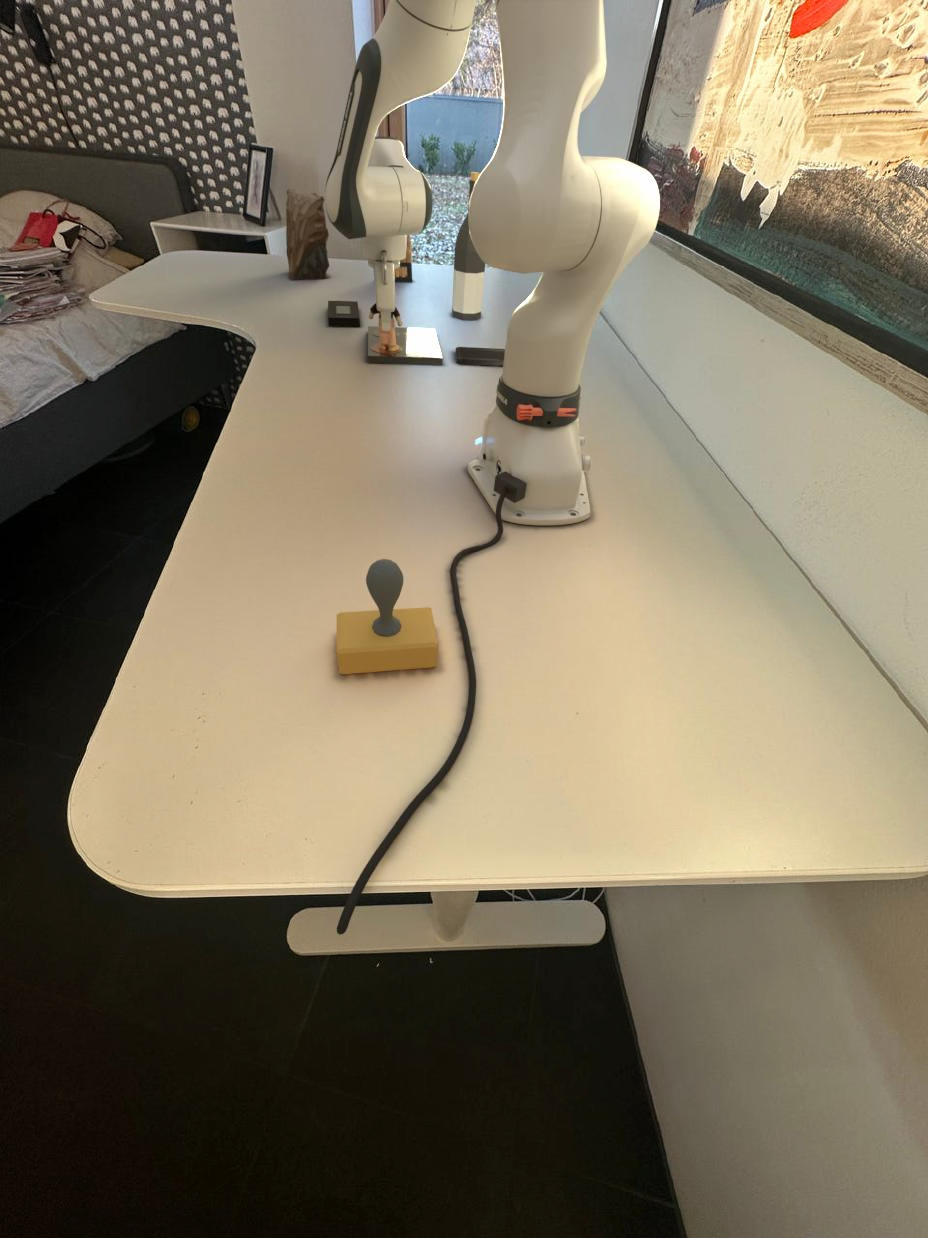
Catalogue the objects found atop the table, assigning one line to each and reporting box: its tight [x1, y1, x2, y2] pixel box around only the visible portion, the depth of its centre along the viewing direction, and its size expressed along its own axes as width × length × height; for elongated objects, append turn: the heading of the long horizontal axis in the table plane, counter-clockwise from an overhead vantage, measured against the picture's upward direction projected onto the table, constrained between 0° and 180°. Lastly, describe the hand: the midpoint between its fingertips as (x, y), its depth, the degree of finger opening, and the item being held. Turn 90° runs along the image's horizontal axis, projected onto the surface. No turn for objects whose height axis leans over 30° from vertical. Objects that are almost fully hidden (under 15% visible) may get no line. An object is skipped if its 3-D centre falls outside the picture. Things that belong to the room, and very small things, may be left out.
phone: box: [454, 346, 505, 367], centre depth 123 cm, size 8×1×15 cm
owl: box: [285, 188, 330, 281], centre depth 159 cm, size 13×13×20 cm
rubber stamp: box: [335, 558, 439, 675], centre depth 54 cm, size 10×6×12 cm, turn 99°
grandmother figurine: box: [368, 284, 403, 351], centre depth 116 cm, size 8×4×13 cm, turn 81°
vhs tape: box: [327, 300, 361, 328], centre depth 137 cm, size 8×14×2 cm, turn 10°
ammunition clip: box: [394, 235, 413, 283], centre depth 164 cm, size 11×2×12 cm, turn 102°
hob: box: [367, 325, 444, 366], centre depth 125 cm, size 20×16×2 cm
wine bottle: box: [451, 171, 486, 321], centre depth 136 cm, size 8×8×30 cm
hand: (385, 322), depth 117 cm, fingers open, 8 cm apart
